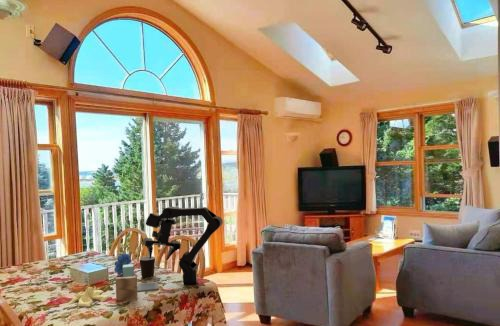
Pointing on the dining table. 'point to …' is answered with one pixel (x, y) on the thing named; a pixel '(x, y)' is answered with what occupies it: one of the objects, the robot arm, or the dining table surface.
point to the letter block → (128, 270)
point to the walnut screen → (126, 288)
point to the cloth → (89, 297)
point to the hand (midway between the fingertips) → (158, 259)
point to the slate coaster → (147, 287)
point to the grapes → (122, 262)
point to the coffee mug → (147, 266)
